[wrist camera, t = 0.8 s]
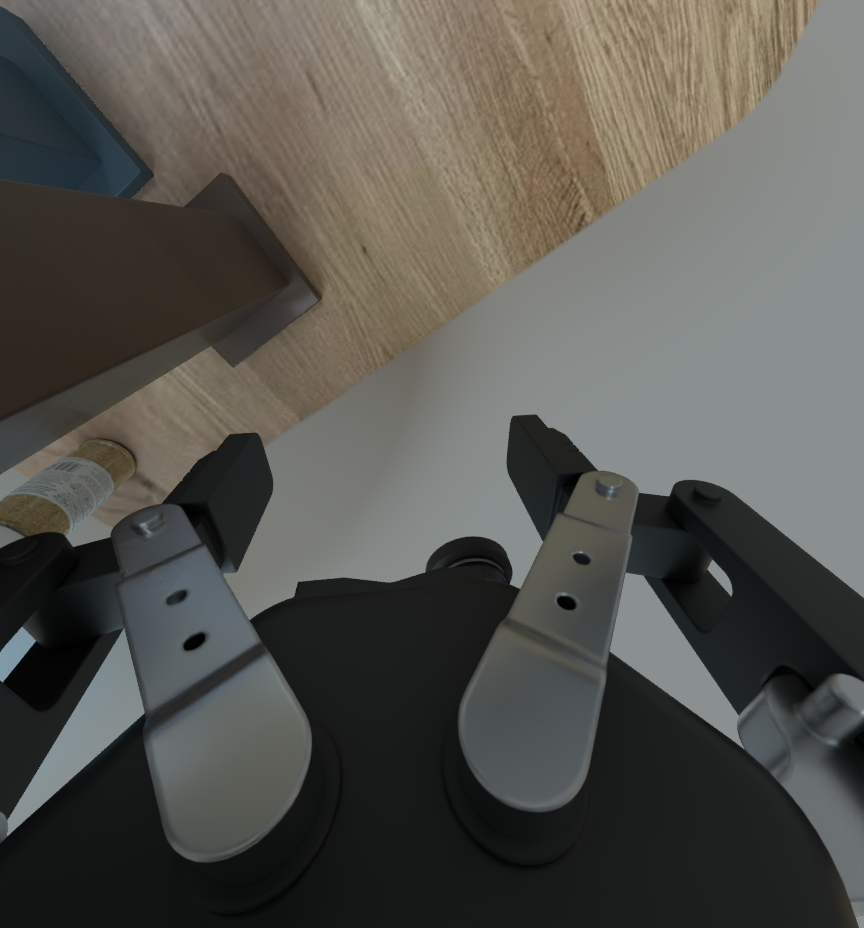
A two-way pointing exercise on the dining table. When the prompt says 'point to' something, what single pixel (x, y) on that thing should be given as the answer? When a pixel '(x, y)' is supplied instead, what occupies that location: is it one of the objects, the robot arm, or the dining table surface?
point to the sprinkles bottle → (65, 491)
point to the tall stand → (126, 298)
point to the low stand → (56, 124)
